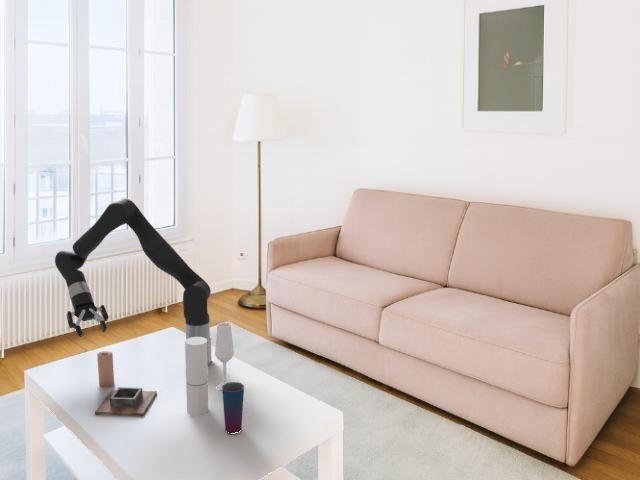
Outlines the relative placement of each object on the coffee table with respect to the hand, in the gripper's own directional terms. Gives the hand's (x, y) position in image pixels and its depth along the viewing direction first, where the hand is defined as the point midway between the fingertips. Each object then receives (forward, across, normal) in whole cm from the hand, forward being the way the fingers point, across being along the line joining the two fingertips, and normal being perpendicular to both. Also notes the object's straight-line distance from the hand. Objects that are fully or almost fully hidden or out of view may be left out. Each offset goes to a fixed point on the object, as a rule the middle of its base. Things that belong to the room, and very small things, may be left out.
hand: (93, 333), depth 235 cm
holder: (+32, 0, -10) cm, 34 cm away
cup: (+58, +20, -36) cm, 72 cm away
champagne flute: (+39, +34, -16) cm, 54 cm away
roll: (+20, 0, +3) cm, 20 cm away
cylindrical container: (+46, +18, -23) cm, 54 cm away
